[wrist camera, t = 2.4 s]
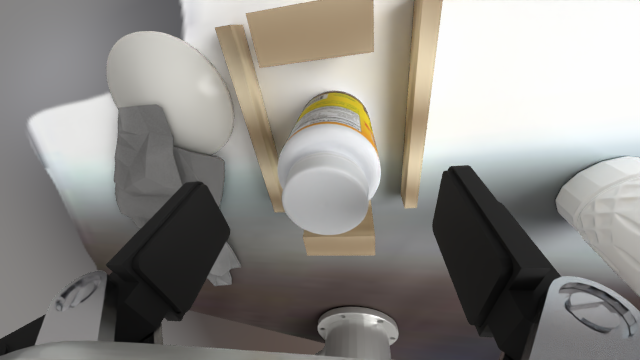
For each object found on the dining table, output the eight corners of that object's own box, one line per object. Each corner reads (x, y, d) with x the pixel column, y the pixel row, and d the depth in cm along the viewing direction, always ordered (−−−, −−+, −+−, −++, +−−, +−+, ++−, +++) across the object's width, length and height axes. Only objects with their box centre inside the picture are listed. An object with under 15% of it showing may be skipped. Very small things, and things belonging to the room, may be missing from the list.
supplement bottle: (357, 161, 20) (363, 257, 12) (296, 145, 20) (258, 233, 12) (380, 98, 17) (410, 170, 9) (308, 79, 17) (268, 134, 9)
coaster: (214, 173, 23) (212, 176, 22) (108, 118, 21) (103, 120, 20) (252, 84, 18) (249, 86, 17) (116, -3, 15) (109, -4, 15)
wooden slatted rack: (411, 193, 22) (433, 255, 16) (279, 199, 24) (257, 255, 18) (432, -9, 14) (494, -33, 8) (229, 27, 16) (158, 29, 10)
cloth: (62, 85, 19) (30, 93, 17) (225, 117, 18) (210, 129, 17) (154, 266, 34) (142, 280, 32) (243, 285, 34) (236, 300, 32)
